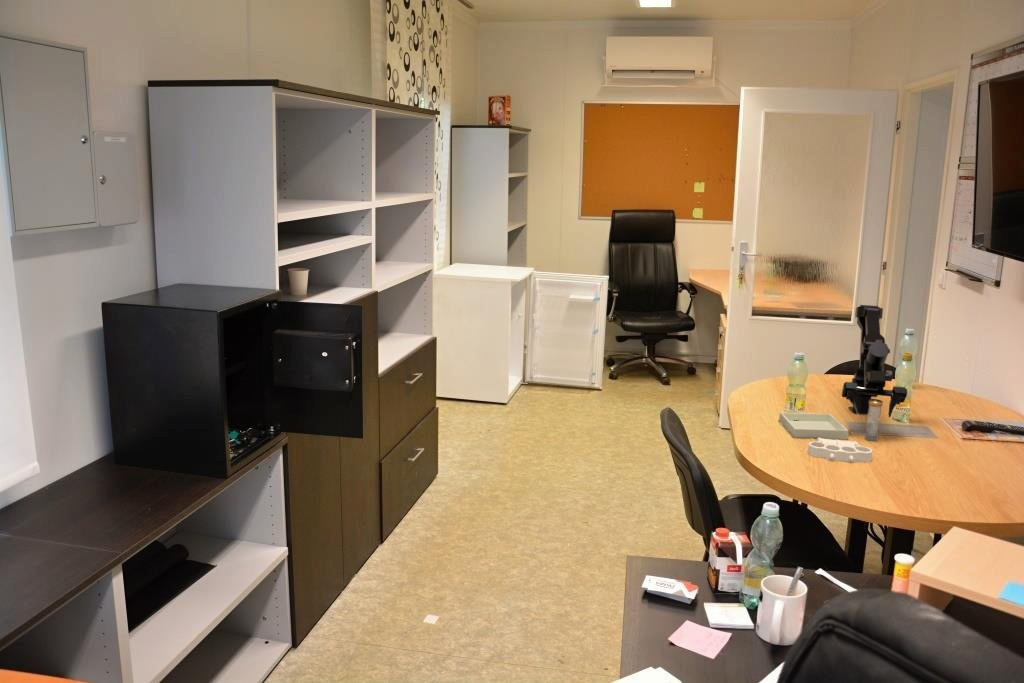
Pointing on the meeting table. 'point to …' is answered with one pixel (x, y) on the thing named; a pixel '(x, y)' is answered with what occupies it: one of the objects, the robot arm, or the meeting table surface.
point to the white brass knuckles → (839, 450)
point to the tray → (813, 426)
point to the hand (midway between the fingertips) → (873, 415)
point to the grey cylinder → (873, 419)
